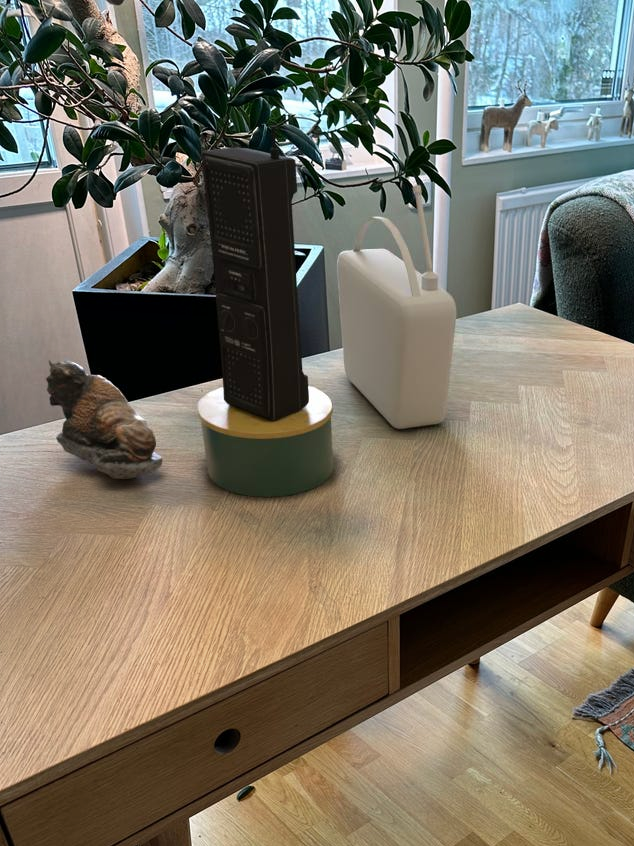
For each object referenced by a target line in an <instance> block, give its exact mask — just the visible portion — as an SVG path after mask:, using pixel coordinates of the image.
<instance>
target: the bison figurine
mask: <svg viewBox="0 0 634 846" xmlns="http://www.w3.org/2000/svg"><path fill="white" fill-rule="evenodd" d="M48 365H49V367H50V368H49V373H50V374H49V375H48V376H47V377H46V378H45V380H46V382H47V388H46V392H47V393H48V394H49V395H50V396H49V398H48V399H49V405H50V406H51V407H55V406H59V407H61V409H62V413H63V416H64V418H65V420H64V421H63V423H62V430H61V432H60V433H58V434H57V435H56V441H57V443H58V444H60V445H61V447H62V449H63V450H64V452H66V453H68V454H70V455H73V456H75V457H77V458H79V459H80V460H83V461H85V462H87V463H88V464H89V465H92V466H95V468H96V470H97V471H98V472H101V473H104V474H106V475H108V476H109V477H110V478H112V479H116V480H128V479H133V478H138V477H139V478H140V477H141V476H145V475H147V474H150V473H153V472H156V471H157V470H158V469H160V468H161V467H162V464H163V461H164V459H163V457H162V456H161V455H159V454H157V453H156V452H155V449H156V447H157V440H156V436H155V434H154V431H153V429H152V428H151V427H150V425H149V424H148V422H147V421H146V420H145V419H144V418H143V417H141V416H140V414H138V412H137V411H136V409H135V408H134V406H132V405H131V404H130V402H129V400H128V399H127V398H126V396H125V395H124V394H123V393H122V391H121V390H120V389H119V388H118V387H117V386H116V385H114V384H113V383H112V382H111V381H110V380H108V379H107V378H106V377H103V376H102V375H100V374H87V373H86V370H85V369H84V367H82V366H81V365H79V364H77V363H76V362H73V361H70V360H62V361H58V362H53V361H51V359H48Z"/></svg>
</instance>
